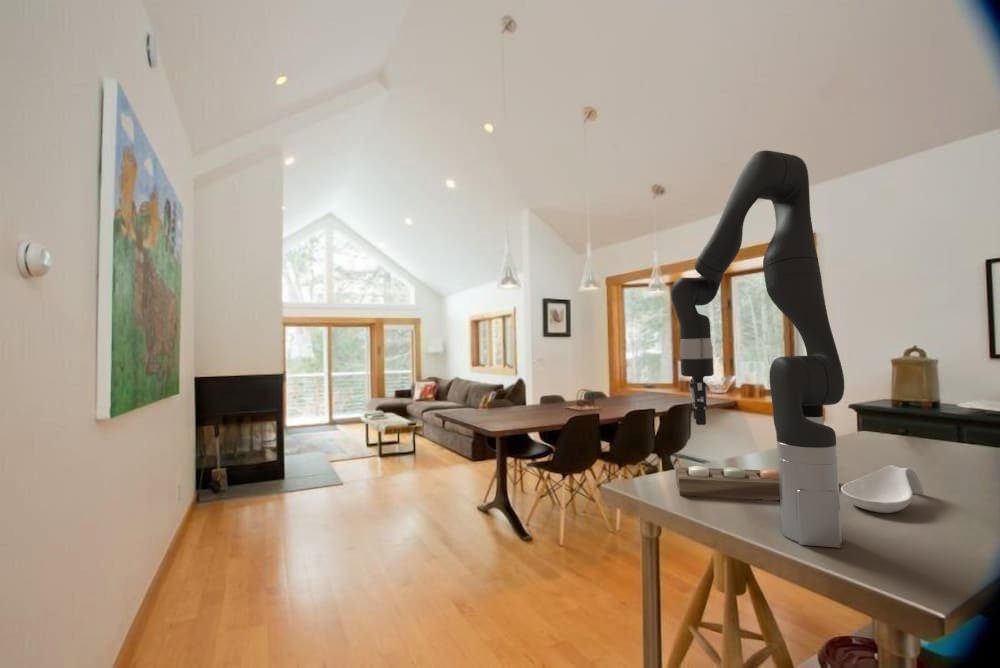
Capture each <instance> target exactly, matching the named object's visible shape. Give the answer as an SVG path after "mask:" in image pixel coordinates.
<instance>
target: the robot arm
mask: <svg viewBox="0 0 1000 668" xmlns="http://www.w3.org/2000/svg"><path fill="white" fill-rule="evenodd" d="M809 179H810V177H809V171H808V167H807V164H806V162H805V161H804V160H803V159H802V158H801V157H799V156H798V155H795V154H790V153H785V152H784V153H783V152H780V151H774V150H760V151H758V152H756V153H754V154H753V155H751V156H750V158H749V159H748V160H747V161H746V163H745V164H744V166H743V168H742V169H741V171H740V173H739V174H738V177H737V179H736V181H735V183H734V187H733V188H732V191H731V193H730V195H729V197H728V199H727V202H726V204H725V207H724V210H723V211H722V214H721V216H720V219H719V221H718V223H717V224H716V227H715V229H714V231H713V233H712V235H711V236H710V237H709V239H708V241H707V243H706V244H705V245H704V247H703V248H702V251H701V252H700V254H699V256H698V257H697V259H696V260H695V262H694V269H695V271H696V272H697V274H698V275H700V276H699V277H679V278H677V279H676V280H675V281H674V283H673V285H672V286H671V287H672V288H671V291H670V292H671V293H670V294H671V295H670V297H671V300H672V305H673V307H674V311H675V313H676V316H677V320H678V322H679V333H680V334H679V335H680V336H679V337H680V345H679V346H680V347H679V353H680V355H679V357H680V359H679V360H680V374H681V376H682V377H686V378H687V377H688V378H690V377H691V378H690V382H689V383H688V386H689V387H688V388H689V394H690V399H691V403H692V407H693V419H694V420H695V424H696V425H698V426H705V425H706V424H707V419H706V418H707V417H706V409H707V406H708V404H707V401H708V394H707V391H708V384H707V383H706V382H705V381H704V378H705V377H712V376H714V374H715V372H714V355H713V354H714V352H713V351H714V350H713V343H712V337H711V322H710V317H708V316H707V315H704V314H701V313H699V312H698V309H697V306H701V307H702V306H706V305H709V303H711V302H712V301H714V299H715V298H716V296H717V294H718V291H719V288H720V286H721V282H722V280H723V277H724V274H725V272H726V271H727V270H728V268H730V266H731V264H732V263H733V261H734V260H735V259H736V257H738V256H737V255H738V254H739V252H740V249H741V247H742V244H743V243H742V242H743V230H744V222H745V219H746V216H747V214H748V213H749V211H750V209H752V207H753V205H754V204H755V203H756V202H757V201H758V199H759V200H760V199H761V200H766V201H767V200H768V201H771V203H772V205H773V209H774V216H775V230H774V233H773V235H772V237H771V240H770V242H769V244H768V246H767V248H766V250H765V252H764V255H763V261H762V263H763V264H762V265H763V266H762V267H763V276H764V281H765V287H766V293H767V295H768V297H769V298H770V300H771V301H772V303H773V304H774V305H775V306H776V307H777V308H778V310H779V311H780V312H781V313H782V314H783V315H784V316H785V317H786V318H787V319H788V320H789V321H790V322H791V323H792V325H793V326H794V327H795V329H796V330H797V332H798V333H799V335H800V337H801V339H802V341H803V344H804V347H805V351H806V355H790V356H779V357H776V358H775V359H774V360H773V361H772V363H771V365H770V368H769V387H770V388H769V389H770V396H771V397H770V398H771V404H772V416H773V418H772V419H773V424H774V428H775V434H776V450H777V468H778V469H777V470H778V473H779V491H780V501H779V507H780V518H781V519H780V521H781V534H783V536H785V537H786V538H788V539H789V540H792V541H794V542H796V543H798V544H799V545H801V546H813V547H815V546H816V547H827V548H838V549H839V548H841V544H842V542H843V536H842V535H843V534H842V533H843V532H842V518H841V504H840V503H841V502H840V500H841V499H840V487H839V486H840V485H839V473H838V472H839V470H838V453H837V452H838V451H837V435H836V431H835V430H834V429H833V427H830V426H828V425H825V424H824V425H822V424H819V423H815V422H813V421H811V420H809V419H807V418H806V417H805V416H804V415H803V411H802V407H801V406H812V405H823V406H832V405H833V406H834V405H836V404H838V403H840V402H841V401H842V399H843V396H844V393H845V376H844V371H843V366H842V363H841V358H840V356H839V351H838V349H837V346H836V341H835V338H834V335H833V332H832V331H833V330H832V328H831V325H830V321H829V316H828V310H827V306H826V301H825V295H824V288H823V281H822V273H821V267H820V262H819V257H818V253H817V249H816V248H817V247H816V244H815V237H814V230H813V224H812V223H813V221H812V215H811V201H810V200H811V199H810V197H811V196H810V180H809Z"/></svg>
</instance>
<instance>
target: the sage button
mask: <svg viewBox="0 0 1000 668" xmlns="http://www.w3.org/2000/svg"><path fill="white" fill-rule="evenodd" d="M723 469H724V478H745V470H746V469H743V468H741V467H740V468H739V467H731V466H730V467H724V468H723Z"/></svg>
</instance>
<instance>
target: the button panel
mask: <svg viewBox="0 0 1000 668" xmlns="http://www.w3.org/2000/svg"><path fill="white" fill-rule="evenodd" d="M707 468H708V469H709V477H698V476H689V467H686V466H685V467H680V466H676V467H675V480H676V481H675V482H676V485H677V486H676V487H677V490H678V494H679V496H680V497H681V496H682V497H700V498H701V497H702V498H717V499H719V498H720V499H737V500H738V499H740V500H754V499H763V500H762V501H773V500H780V491H779V480H772V479H761V477H760V470H761V469H744V470H745V478H724V468H712V467H710V468H709V467H707Z"/></svg>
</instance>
